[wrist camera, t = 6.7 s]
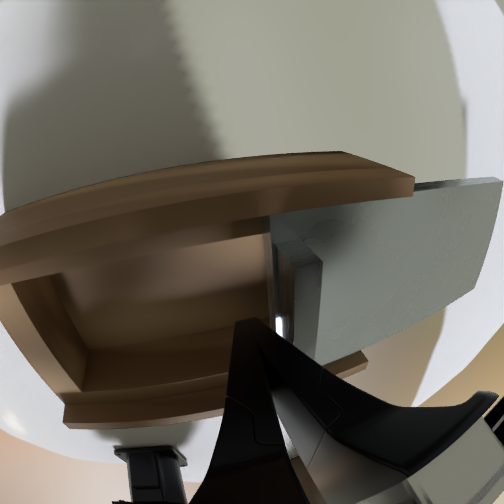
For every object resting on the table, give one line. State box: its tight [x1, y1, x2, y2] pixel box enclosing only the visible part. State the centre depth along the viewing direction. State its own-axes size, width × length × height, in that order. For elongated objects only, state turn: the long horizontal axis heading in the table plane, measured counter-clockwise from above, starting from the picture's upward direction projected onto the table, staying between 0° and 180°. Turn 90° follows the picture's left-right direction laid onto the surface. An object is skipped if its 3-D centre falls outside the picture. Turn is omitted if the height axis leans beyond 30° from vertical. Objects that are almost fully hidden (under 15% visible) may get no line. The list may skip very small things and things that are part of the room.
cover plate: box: [262, 177, 503, 365], centre depth 11 cm, size 8×15×2 cm, turn 95°
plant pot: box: [290, 456, 327, 504], centre depth 27 cm, size 15×15×16 cm
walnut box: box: [0, 151, 415, 429], centre depth 10 cm, size 10×16×5 cm, turn 93°
